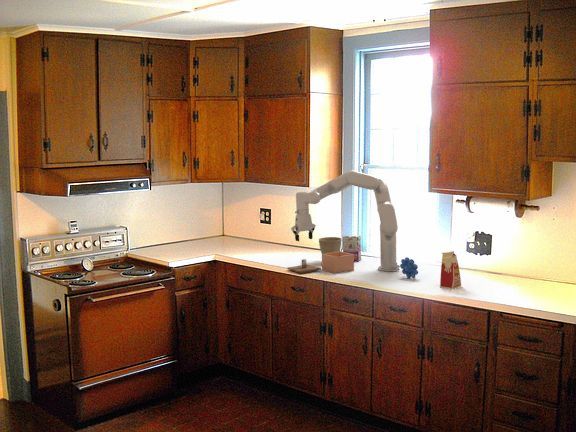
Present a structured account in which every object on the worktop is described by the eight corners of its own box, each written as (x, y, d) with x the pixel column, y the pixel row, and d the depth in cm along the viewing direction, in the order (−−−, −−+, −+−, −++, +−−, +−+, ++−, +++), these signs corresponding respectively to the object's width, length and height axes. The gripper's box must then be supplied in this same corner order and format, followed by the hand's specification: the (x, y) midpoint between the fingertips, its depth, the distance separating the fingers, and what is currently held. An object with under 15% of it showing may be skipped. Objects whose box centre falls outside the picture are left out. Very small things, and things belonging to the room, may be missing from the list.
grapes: (396, 278, 375) (396, 257, 374) (402, 275, 380) (402, 255, 379) (414, 280, 368) (414, 259, 366) (420, 278, 373) (420, 257, 371)
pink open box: (354, 270, 398) (353, 254, 397) (335, 273, 391) (335, 257, 390) (340, 266, 410) (339, 251, 409) (322, 269, 403) (321, 253, 401)
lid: (321, 271, 399) (321, 260, 398) (300, 275, 391) (300, 263, 390) (307, 267, 412) (307, 256, 411) (287, 271, 404) (287, 259, 403)
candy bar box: (361, 260, 428) (361, 235, 426) (358, 261, 424) (358, 236, 422) (345, 259, 434) (345, 234, 431) (342, 260, 429) (342, 236, 427)
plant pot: (320, 260, 431) (320, 236, 429) (343, 260, 428) (342, 237, 426) (317, 265, 416) (317, 240, 414) (340, 265, 413) (340, 240, 411)
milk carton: (461, 286, 352) (461, 249, 349) (453, 289, 345) (453, 252, 342) (446, 284, 358) (446, 248, 355) (437, 287, 351) (437, 250, 348)
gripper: (294, 214, 389) (295, 242, 391) (317, 211, 398) (319, 238, 400) (287, 213, 395) (288, 241, 398) (311, 210, 405) (312, 237, 407)
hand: (304, 239), depth 399 cm, fingers open, 9 cm apart
